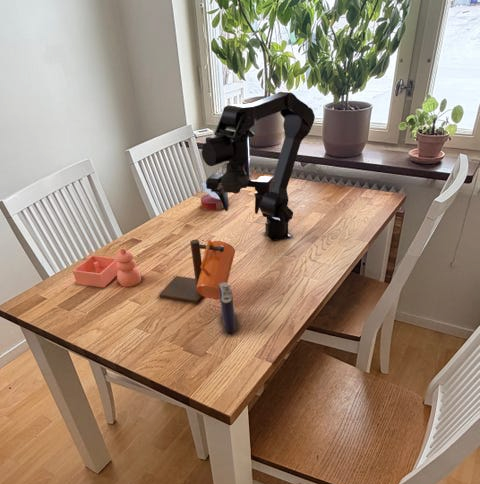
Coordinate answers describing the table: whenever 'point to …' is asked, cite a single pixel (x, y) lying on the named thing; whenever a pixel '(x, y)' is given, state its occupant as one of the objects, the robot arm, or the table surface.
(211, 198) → the canned food
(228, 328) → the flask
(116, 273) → the pottery
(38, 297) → the table surface
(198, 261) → the hook stand
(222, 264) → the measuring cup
